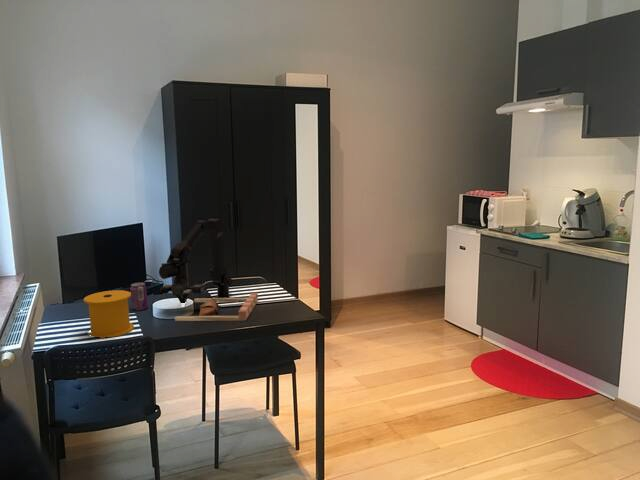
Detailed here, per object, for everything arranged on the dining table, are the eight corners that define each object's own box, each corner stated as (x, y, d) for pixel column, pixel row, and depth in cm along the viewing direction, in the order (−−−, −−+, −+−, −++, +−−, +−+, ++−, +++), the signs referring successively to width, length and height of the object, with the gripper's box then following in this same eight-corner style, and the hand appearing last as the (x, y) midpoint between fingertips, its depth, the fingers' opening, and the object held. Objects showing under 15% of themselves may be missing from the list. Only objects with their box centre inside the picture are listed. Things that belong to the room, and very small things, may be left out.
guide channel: (195, 301, 256) (194, 293, 255) (257, 300, 254) (257, 292, 253) (175, 320, 226) (174, 312, 225) (245, 320, 224) (245, 311, 223)
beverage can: (150, 306, 248) (148, 282, 246) (144, 311, 241) (141, 286, 239) (136, 306, 249) (134, 282, 247) (129, 311, 242) (127, 286, 240)
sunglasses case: (198, 305, 247) (204, 293, 247) (211, 311, 249) (218, 299, 249) (198, 317, 230) (205, 304, 230) (213, 323, 232) (220, 310, 232)
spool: (87, 341, 204) (83, 304, 202) (87, 327, 220) (83, 293, 218) (135, 333, 211) (132, 298, 209) (132, 321, 227) (129, 287, 225)
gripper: (154, 278, 231) (157, 312, 233) (196, 278, 230) (198, 312, 232) (163, 272, 242) (166, 305, 244) (203, 272, 240) (205, 305, 243)
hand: (183, 307), depth 241 cm, fingers closed
